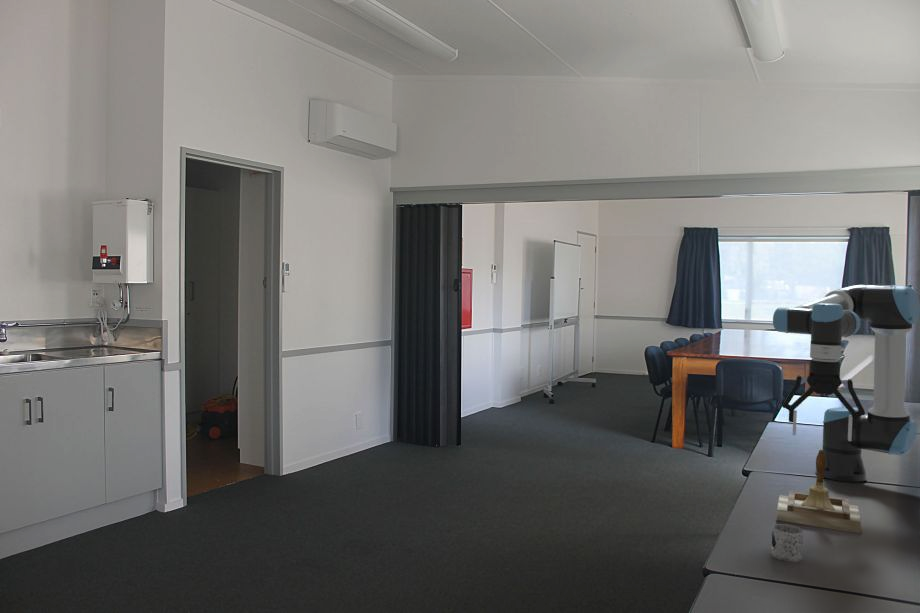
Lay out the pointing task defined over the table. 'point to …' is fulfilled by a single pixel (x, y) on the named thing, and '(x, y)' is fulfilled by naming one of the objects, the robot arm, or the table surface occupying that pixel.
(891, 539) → the table surface
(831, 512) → the stand
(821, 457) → the hand bell
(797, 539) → the mug
